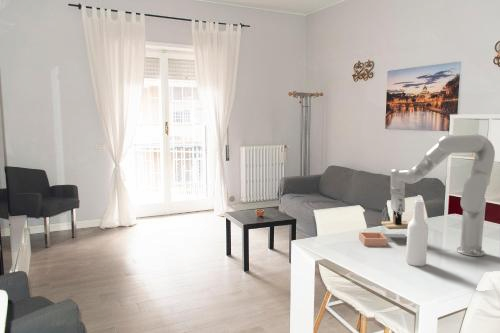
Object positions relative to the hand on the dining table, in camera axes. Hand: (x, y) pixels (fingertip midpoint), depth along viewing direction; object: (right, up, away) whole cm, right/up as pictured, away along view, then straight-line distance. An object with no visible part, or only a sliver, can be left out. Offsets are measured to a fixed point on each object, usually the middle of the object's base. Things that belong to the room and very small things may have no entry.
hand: (397, 223), depth 224 cm
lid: (0, -2, 0) cm, 2 cm away
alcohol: (-5, -14, -37) cm, 40 cm away
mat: (-1, -9, +2) cm, 9 cm away
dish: (-16, -10, -7) cm, 20 cm away
